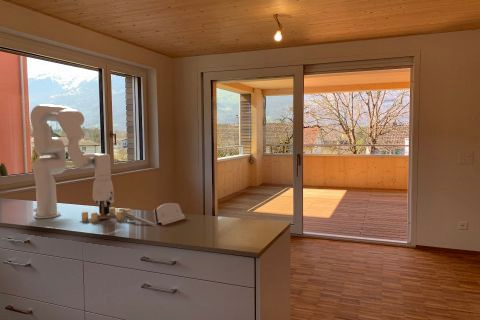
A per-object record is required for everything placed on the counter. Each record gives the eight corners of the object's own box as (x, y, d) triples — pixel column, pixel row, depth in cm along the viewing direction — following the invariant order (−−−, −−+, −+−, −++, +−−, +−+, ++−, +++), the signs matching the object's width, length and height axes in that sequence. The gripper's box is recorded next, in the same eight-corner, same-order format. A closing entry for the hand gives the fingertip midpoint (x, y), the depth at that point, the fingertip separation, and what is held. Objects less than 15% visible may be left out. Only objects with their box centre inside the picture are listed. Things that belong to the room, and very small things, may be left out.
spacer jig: (78, 223, 179) (77, 213, 178) (104, 215, 195) (103, 206, 195) (110, 226, 171) (109, 216, 171) (134, 218, 188) (134, 208, 188)
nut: (90, 219, 183) (90, 215, 183) (98, 216, 189) (98, 213, 189) (97, 220, 182) (97, 216, 181) (106, 217, 187) (106, 214, 187)
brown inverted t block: (96, 218, 180) (98, 200, 181) (106, 217, 187) (107, 200, 188) (101, 218, 179) (102, 200, 180) (110, 218, 186) (112, 200, 187)
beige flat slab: (162, 225, 173) (156, 205, 174) (155, 227, 176) (150, 207, 177) (185, 218, 187) (180, 199, 188) (179, 220, 190) (174, 201, 191)
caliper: (121, 221, 180) (121, 209, 179) (122, 221, 181) (122, 209, 180) (155, 226, 172) (155, 214, 171) (156, 226, 173) (156, 213, 172)
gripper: (85, 178, 182) (86, 214, 183) (110, 179, 176) (111, 216, 177) (96, 176, 189) (97, 211, 190) (120, 177, 183) (122, 213, 184)
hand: (104, 213), depth 184 cm, fingers closed on brown inverted t block, 2 cm apart
